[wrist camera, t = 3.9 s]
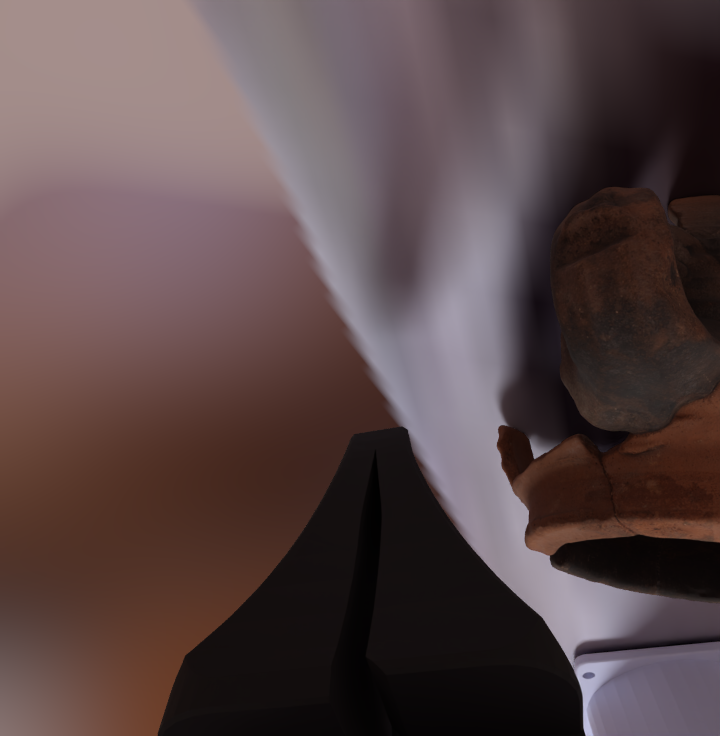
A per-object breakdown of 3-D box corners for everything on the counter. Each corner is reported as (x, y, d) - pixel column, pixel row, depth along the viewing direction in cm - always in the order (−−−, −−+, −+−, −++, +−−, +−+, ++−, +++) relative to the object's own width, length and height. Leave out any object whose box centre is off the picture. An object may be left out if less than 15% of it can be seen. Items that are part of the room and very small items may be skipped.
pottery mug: (897, 321, 15) (1008, 636, 11) (576, 386, 22) (576, 603, 18) (806, -61, 9) (1003, 383, 5) (380, 195, 15) (311, 475, 11)
